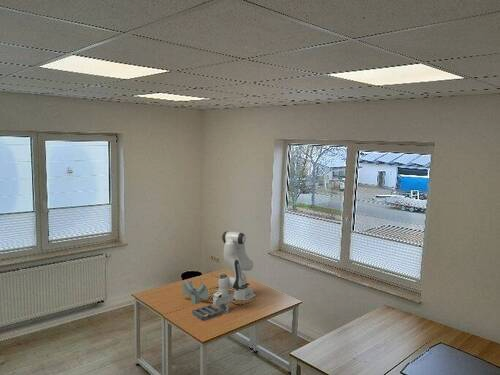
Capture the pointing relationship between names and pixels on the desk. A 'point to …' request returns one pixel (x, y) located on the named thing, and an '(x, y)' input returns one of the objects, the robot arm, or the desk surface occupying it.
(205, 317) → the rack
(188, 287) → the bracket
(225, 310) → the panel
